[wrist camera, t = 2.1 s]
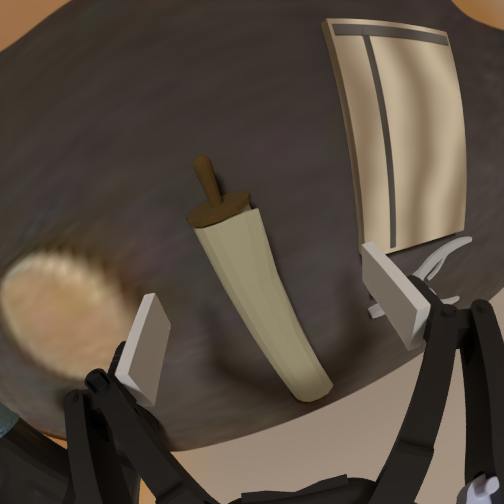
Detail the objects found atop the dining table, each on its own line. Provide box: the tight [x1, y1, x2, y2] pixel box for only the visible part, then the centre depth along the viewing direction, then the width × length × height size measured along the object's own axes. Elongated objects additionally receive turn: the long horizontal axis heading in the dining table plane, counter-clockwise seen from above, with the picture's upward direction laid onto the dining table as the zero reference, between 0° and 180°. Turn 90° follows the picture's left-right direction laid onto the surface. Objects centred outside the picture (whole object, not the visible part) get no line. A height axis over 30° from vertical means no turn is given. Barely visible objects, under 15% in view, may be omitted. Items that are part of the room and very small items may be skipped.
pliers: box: [368, 237, 472, 319], centre depth 28 cm, size 10×2×15 cm
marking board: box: [321, 19, 466, 255], centre depth 20 cm, size 13×21×2 cm, turn 13°
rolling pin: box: [186, 155, 333, 405], centre depth 26 cm, size 32×6×5 cm, turn 22°
